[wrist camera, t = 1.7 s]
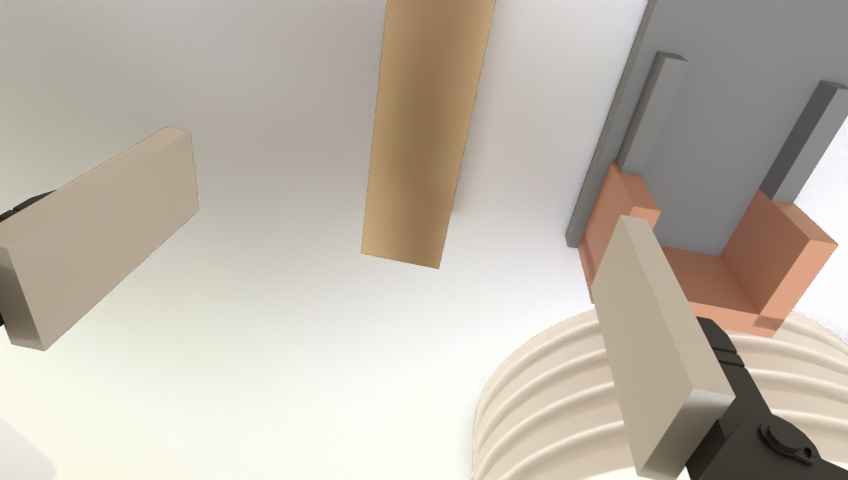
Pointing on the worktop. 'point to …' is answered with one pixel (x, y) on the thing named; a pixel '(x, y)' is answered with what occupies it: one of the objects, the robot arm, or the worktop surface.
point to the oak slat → (422, 124)
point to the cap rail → (722, 151)
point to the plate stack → (600, 411)
